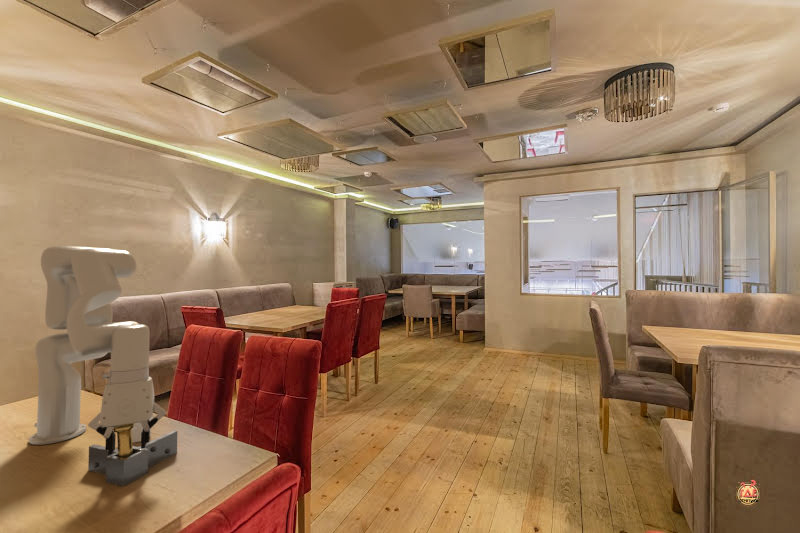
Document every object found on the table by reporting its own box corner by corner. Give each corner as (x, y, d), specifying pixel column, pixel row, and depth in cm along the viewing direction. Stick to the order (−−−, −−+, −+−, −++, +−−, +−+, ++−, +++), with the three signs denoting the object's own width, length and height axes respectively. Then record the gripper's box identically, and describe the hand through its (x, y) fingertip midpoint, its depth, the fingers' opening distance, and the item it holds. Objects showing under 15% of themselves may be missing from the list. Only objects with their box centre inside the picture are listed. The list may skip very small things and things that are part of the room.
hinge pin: (112, 481, 83) (109, 427, 83) (129, 471, 87) (126, 420, 87) (124, 483, 82) (121, 428, 82) (140, 473, 86) (138, 421, 86)
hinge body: (77, 475, 86) (78, 450, 86) (141, 445, 101) (142, 425, 101) (123, 486, 81) (123, 460, 81) (183, 453, 96) (183, 432, 96)
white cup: (135, 445, 101) (136, 411, 101) (113, 443, 102) (114, 409, 103) (159, 433, 109) (160, 401, 109) (138, 431, 110) (139, 399, 110)
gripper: (78, 384, 78) (76, 465, 78) (169, 374, 86) (167, 447, 86) (89, 375, 85) (87, 450, 84) (173, 367, 93) (171, 435, 92)
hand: (128, 448), depth 85 cm, fingers open, 5 cm apart
